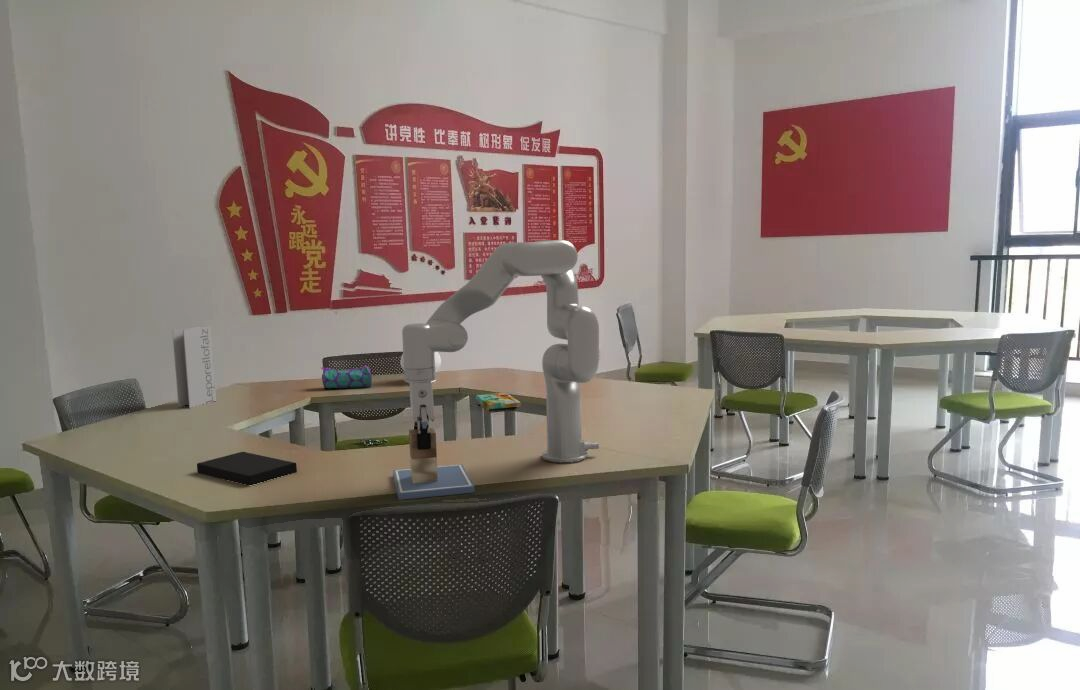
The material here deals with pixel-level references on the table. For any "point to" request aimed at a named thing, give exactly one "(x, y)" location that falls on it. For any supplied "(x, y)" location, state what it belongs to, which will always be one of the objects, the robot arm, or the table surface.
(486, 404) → the puzzle game
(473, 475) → the table surface
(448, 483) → the blueprint board
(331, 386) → the pencil case
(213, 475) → the external hard drive
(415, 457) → the walnut block
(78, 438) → the table surface
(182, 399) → the brochure
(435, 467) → the maple base block
